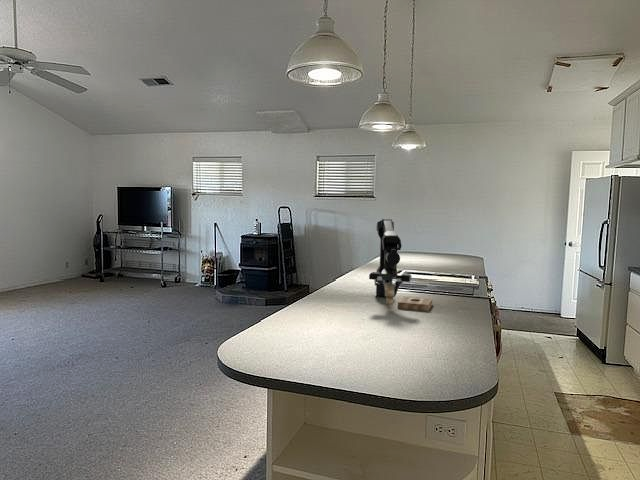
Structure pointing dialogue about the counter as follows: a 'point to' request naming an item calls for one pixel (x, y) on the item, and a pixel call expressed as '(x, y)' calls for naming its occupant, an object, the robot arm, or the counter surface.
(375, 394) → the counter surface
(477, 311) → the counter surface
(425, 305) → the seat block
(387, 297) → the peg
